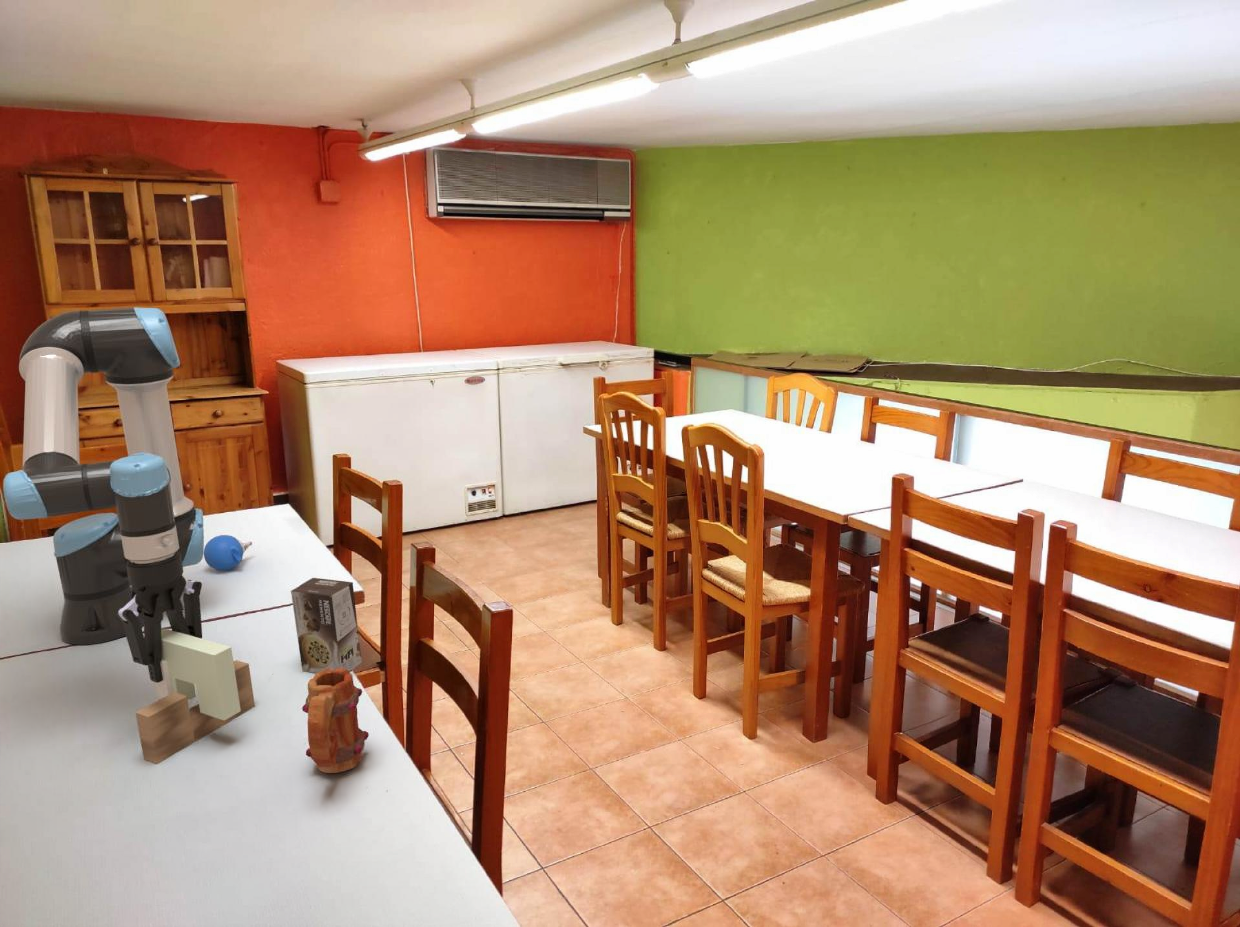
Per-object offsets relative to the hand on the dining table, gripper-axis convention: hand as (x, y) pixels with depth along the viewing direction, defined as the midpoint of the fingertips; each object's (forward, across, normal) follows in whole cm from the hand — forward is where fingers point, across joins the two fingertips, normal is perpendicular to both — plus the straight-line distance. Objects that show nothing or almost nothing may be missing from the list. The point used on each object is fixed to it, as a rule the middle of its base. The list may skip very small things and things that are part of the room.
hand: (176, 691), depth 136 cm
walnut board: (+6, 0, -5) cm, 8 cm away
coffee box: (+6, +25, -8) cm, 27 cm away
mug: (+6, +1, -33) cm, 34 cm away
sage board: (+1, 0, -5) cm, 5 cm away
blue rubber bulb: (+6, +52, +52) cm, 74 cm away
